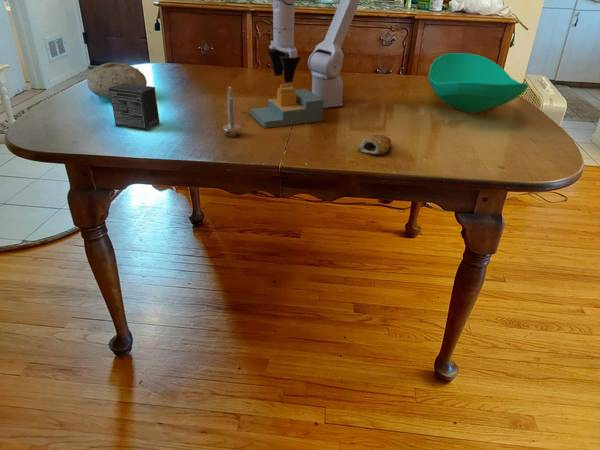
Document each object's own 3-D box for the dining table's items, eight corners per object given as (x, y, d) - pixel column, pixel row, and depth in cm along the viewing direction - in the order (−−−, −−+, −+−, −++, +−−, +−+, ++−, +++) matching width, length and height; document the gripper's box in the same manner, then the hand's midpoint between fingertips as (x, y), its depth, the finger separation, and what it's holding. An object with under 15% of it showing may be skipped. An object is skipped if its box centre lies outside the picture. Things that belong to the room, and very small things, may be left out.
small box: (161, 124, 127) (156, 86, 122) (147, 131, 122) (141, 92, 116) (129, 118, 130) (123, 81, 124) (114, 126, 125) (107, 87, 119)
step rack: (305, 108, 142) (306, 88, 139) (322, 120, 133) (323, 99, 130) (250, 114, 136) (250, 94, 133) (264, 128, 127) (264, 106, 123)
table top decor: (413, 90, 163) (419, 51, 156) (490, 92, 164) (500, 54, 156) (441, 129, 130) (450, 82, 123) (537, 132, 130) (552, 85, 123)
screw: (222, 132, 123) (240, 131, 124) (223, 138, 119) (241, 138, 120) (219, 83, 116) (238, 83, 117) (220, 88, 112) (239, 88, 113)
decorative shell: (158, 91, 153) (153, 60, 148) (132, 108, 138) (126, 74, 133) (108, 87, 155) (102, 57, 150) (78, 103, 140) (70, 70, 135)
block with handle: (291, 101, 135) (291, 82, 132) (296, 104, 132) (296, 85, 129) (276, 102, 133) (276, 83, 130) (281, 106, 130) (281, 86, 127)
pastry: (373, 140, 121) (375, 126, 119) (396, 146, 118) (399, 132, 116) (356, 151, 115) (358, 137, 113) (380, 158, 111) (382, 143, 109)
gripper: (260, 24, 129) (261, 73, 136) (280, 33, 118) (280, 86, 125) (283, 23, 132) (283, 71, 139) (304, 32, 121) (303, 84, 128)
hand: (283, 78), depth 132 cm, fingers open, 7 cm apart
